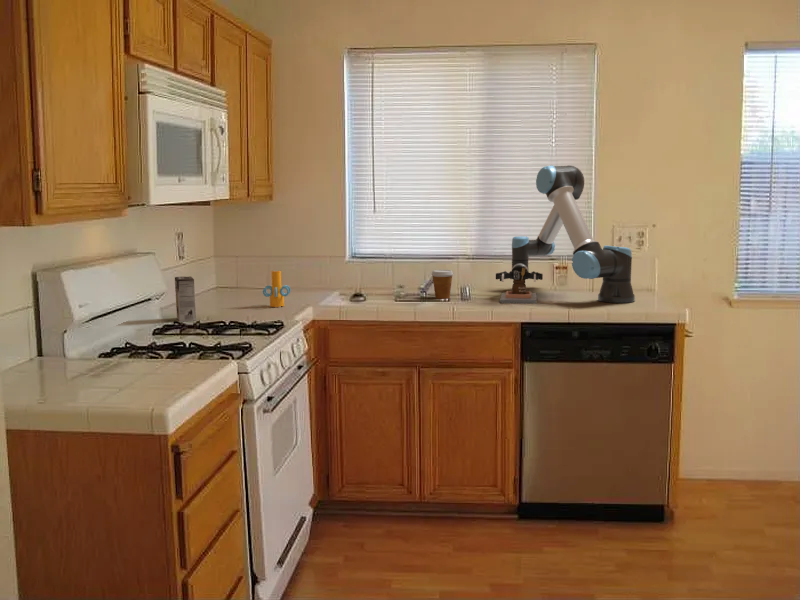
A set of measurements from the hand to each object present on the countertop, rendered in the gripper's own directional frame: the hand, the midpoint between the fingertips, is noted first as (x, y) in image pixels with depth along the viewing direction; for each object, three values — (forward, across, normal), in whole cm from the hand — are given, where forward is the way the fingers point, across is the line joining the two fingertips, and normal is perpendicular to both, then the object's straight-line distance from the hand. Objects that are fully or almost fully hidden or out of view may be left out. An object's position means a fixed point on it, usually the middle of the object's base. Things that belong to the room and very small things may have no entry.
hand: (518, 278), depth 372 cm
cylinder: (+24, +100, -10) cm, 103 cm away
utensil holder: (-3, 0, -8) cm, 9 cm away
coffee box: (+58, +126, -10) cm, 139 cm away
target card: (-3, 0, -10) cm, 10 cm away
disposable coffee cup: (-6, +33, -10) cm, 35 cm away
